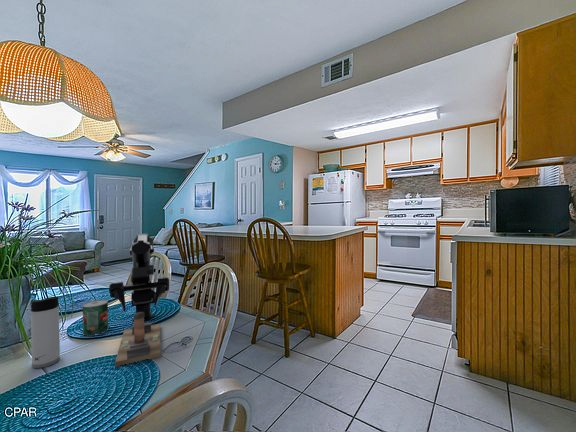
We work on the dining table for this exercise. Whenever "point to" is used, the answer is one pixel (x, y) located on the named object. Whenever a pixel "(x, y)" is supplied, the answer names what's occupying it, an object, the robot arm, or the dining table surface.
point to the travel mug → (45, 332)
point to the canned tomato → (95, 317)
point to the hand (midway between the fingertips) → (140, 308)
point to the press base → (141, 352)
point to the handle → (139, 331)
